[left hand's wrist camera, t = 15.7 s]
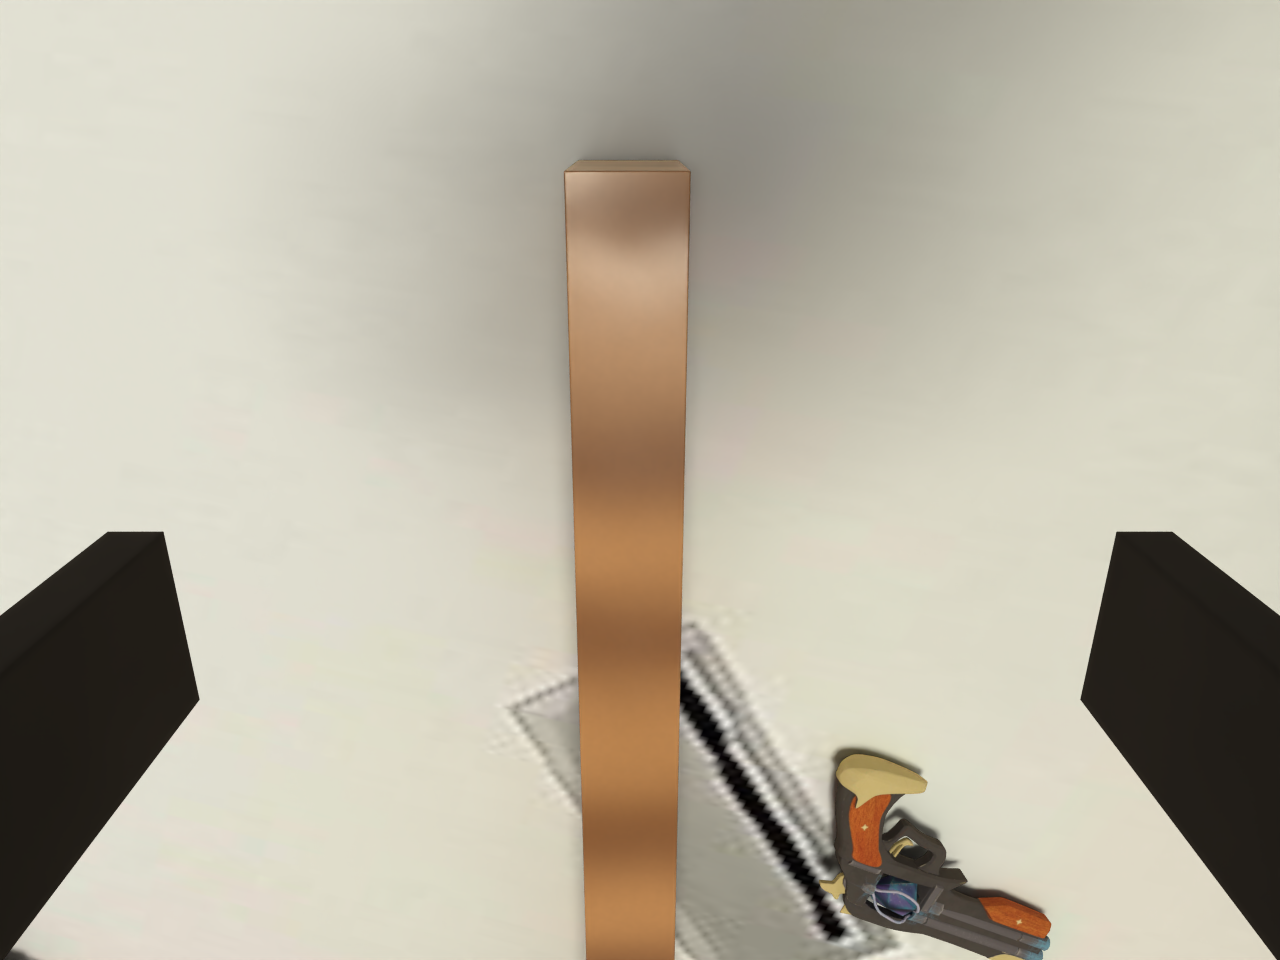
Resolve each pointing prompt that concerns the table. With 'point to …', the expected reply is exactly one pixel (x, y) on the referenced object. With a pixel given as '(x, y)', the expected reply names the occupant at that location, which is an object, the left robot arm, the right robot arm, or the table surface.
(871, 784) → the toy gun
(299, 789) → the table surface
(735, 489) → the table surface
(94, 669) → the left robot arm
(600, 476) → the beam
